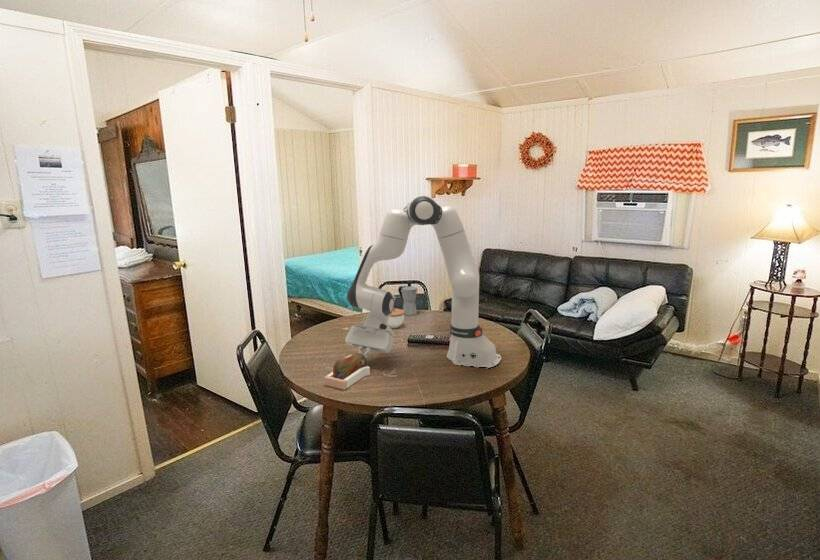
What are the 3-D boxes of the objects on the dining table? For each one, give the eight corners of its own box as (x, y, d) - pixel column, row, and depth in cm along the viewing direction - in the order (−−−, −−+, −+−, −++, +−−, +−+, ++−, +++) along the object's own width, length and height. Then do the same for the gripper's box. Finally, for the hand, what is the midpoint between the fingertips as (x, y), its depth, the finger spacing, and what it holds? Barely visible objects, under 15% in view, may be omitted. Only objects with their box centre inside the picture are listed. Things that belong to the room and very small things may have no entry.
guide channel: (371, 374, 169) (370, 366, 168) (347, 390, 155) (347, 383, 155) (345, 368, 174) (345, 361, 173) (321, 384, 161) (320, 376, 160)
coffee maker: (423, 314, 244) (423, 282, 240) (411, 317, 238) (411, 285, 234) (404, 308, 254) (404, 278, 250) (393, 311, 248) (392, 280, 244)
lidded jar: (380, 324, 227) (380, 307, 224) (399, 321, 231) (399, 304, 229) (388, 330, 217) (388, 312, 215) (408, 327, 221) (407, 309, 219)
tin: (337, 384, 160) (336, 363, 158) (332, 382, 162) (330, 361, 160) (367, 371, 172) (366, 350, 170) (361, 369, 174) (360, 349, 172)
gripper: (349, 320, 181) (336, 350, 175) (392, 327, 172) (380, 359, 166) (356, 327, 186) (343, 356, 180) (398, 334, 177) (386, 366, 171)
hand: (361, 358), depth 173 cm, fingers closed
